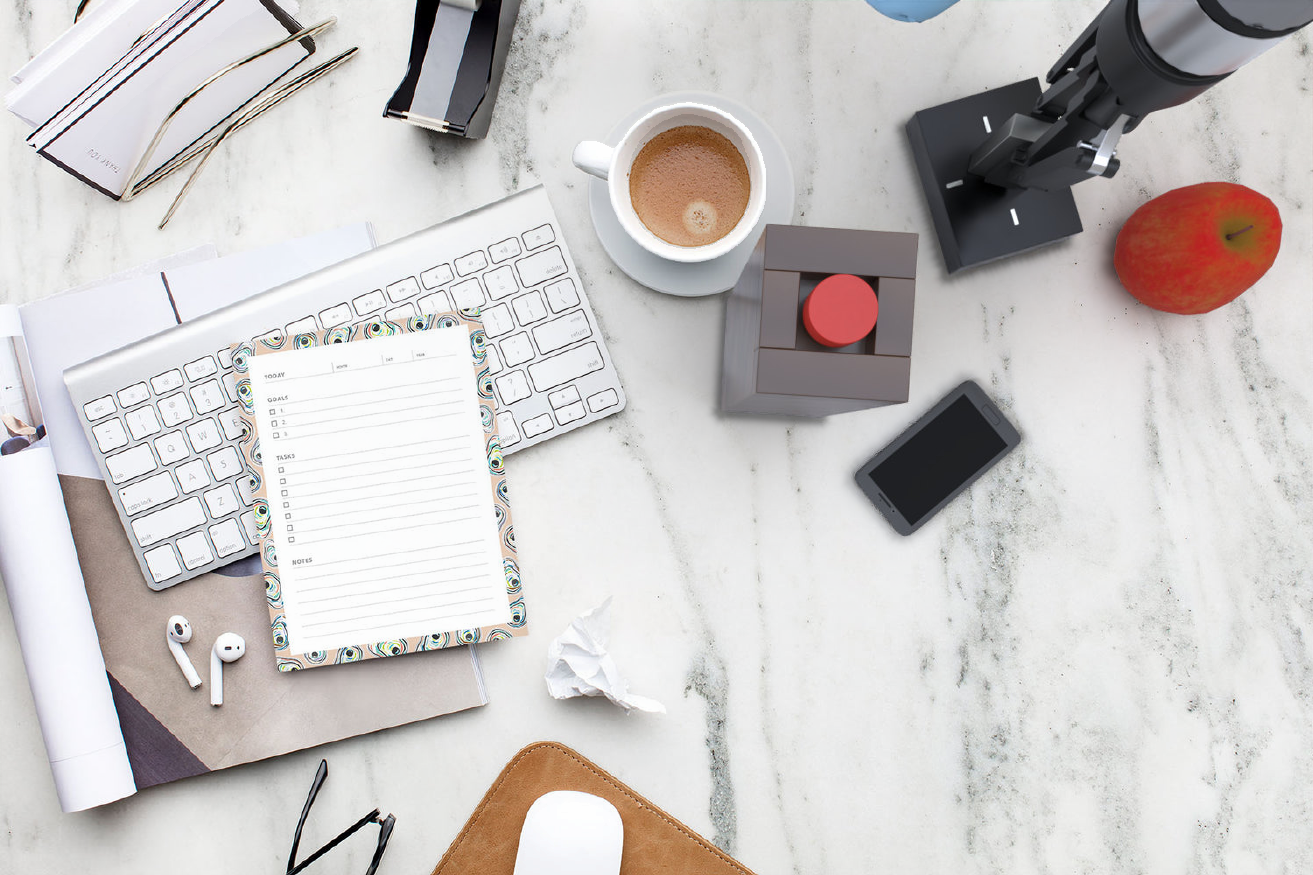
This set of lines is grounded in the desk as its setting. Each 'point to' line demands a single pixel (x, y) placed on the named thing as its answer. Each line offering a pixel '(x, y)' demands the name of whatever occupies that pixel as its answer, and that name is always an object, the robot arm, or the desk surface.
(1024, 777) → the desk surface
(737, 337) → the block
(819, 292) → the button
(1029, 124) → the stove knob
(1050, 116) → the robot arm
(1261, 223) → the apple
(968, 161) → the panel
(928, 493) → the cell phone
